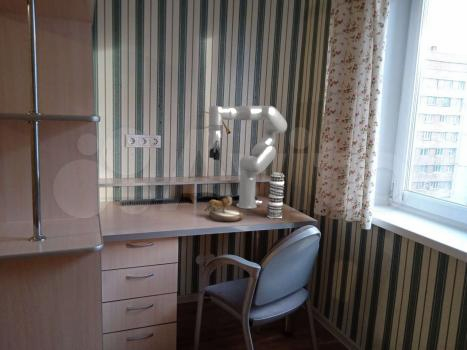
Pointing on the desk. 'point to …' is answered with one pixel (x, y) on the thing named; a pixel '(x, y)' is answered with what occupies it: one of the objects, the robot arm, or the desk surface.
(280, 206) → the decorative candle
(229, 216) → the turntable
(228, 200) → the lion figurine
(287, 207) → the desk surface
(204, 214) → the desk surface
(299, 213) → the desk surface
